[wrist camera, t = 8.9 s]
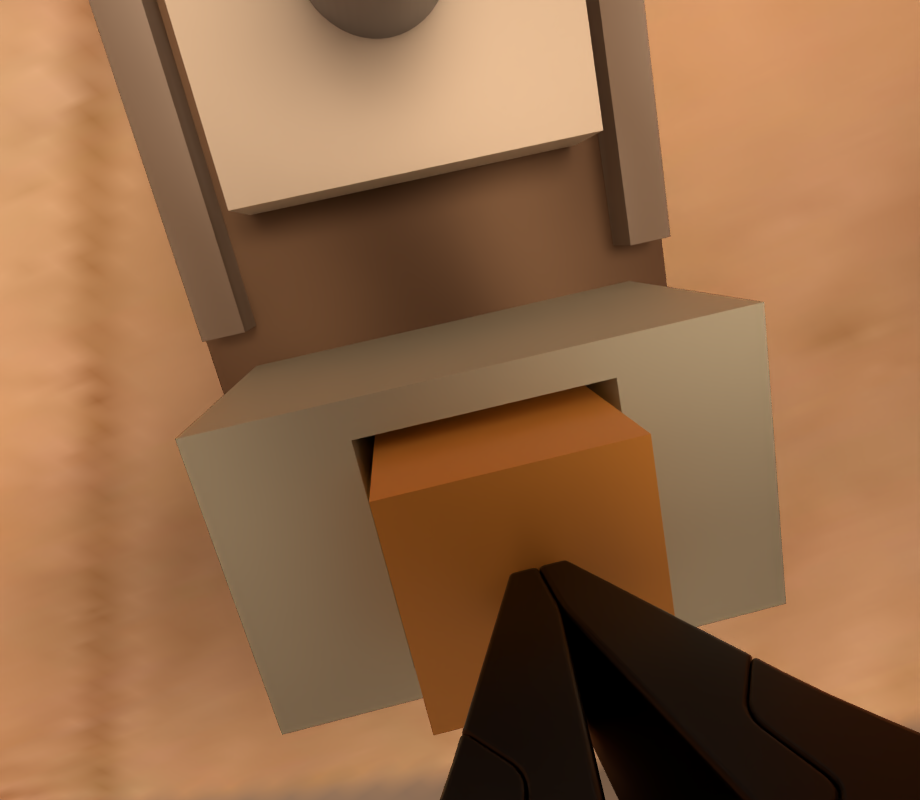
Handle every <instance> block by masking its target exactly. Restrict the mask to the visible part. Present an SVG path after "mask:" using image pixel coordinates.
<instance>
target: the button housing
mask: <svg viewBox="0 0 920 800" xmlns="http://www.w3.org/2000/svg"><path fill="white" fill-rule="evenodd" d="M583 385H585V386H586V387H588V388H589V389H590V390H592V391H593V392H595V393H596V394H597V395H599V396H600V397H601V398H603V399H604V400H605V401H607V402H608V403H610V404H611V405H612V406H614V407H615V408H616V409H618V410H619V411H620V412H622V413H623V414H625V415H626V416H627V417H629V418H630V419H631V420H633V421H634V422H635V423H637V424H638V425H640V426H641V427H642V428H644V429H645V430H646V431H648V432H649V433H650V434H651V438H652V446H653V454H654V461H655V469H656V476H657V484H658V492H659V499H660V507H661V514H662V522H663V529H664V537H665V545H666V552H667V560H668V567H669V575H670V583H671V590H672V598H673V605H674V613H675V617H677V618H679V619H681V620H683V621H685V622H687V623H689V624H691V625H693V626H695V627H698V626H702V625H706V624H710V623H713V622H717V621H721V620H725V619H729V618H733V617H737V616H740V615H744V614H748V613H752V612H756V611H760V610H763V609H767V608H771V607H775V606H779V605H783V604H786V596H785V582H784V568H783V554H782V541H781V527H780V513H779V499H778V485H777V472H776V458H775V444H774V430H773V417H772V403H771V389H770V375H769V361H768V348H767V334H766V320H765V306H764V302H760V301H754V300H748V299H741V298H735V297H728V296H722V295H716V294H709V293H703V292H697V291H690V290H684V289H677V288H671V287H665V286H658V285H652V284H645V283H639V282H633V281H627V282H623V283H618V284H614V285H609V286H605V287H601V288H596V289H592V290H588V291H583V292H579V293H574V294H570V295H566V296H561V297H557V298H552V299H548V300H544V301H539V302H535V303H531V304H526V305H522V306H517V307H513V308H509V309H504V310H500V311H496V312H491V313H487V314H482V315H478V316H474V317H469V318H465V319H460V320H456V321H452V322H447V323H443V324H439V325H434V326H430V327H425V328H421V329H417V330H412V331H408V332H403V333H399V334H395V335H390V336H386V337H382V338H377V339H373V340H368V341H364V342H360V343H355V344H351V345H346V346H342V347H338V348H333V349H329V350H325V351H320V352H316V353H311V354H307V355H303V356H298V357H294V358H289V359H285V360H281V361H276V362H272V363H268V364H263V365H259V366H256V367H255V368H254V369H252V370H251V371H250V372H249V373H248V374H247V375H246V376H245V377H244V378H242V379H241V380H240V381H239V382H238V383H237V384H236V385H235V386H234V387H232V388H231V389H230V390H229V391H228V392H227V393H226V394H225V395H224V396H223V397H221V398H220V399H219V400H218V401H217V402H216V403H215V404H214V405H213V406H211V407H210V408H209V409H208V410H207V411H206V412H205V413H204V414H203V415H201V416H200V417H199V418H198V419H197V420H196V421H195V422H194V423H193V424H191V425H190V426H189V427H188V428H187V429H186V430H185V431H184V432H183V433H181V434H180V435H179V436H178V437H177V438H176V439H175V440H176V443H177V446H178V448H179V451H180V454H181V457H182V459H183V462H184V465H185V468H186V470H187V473H188V476H189V479H190V481H191V484H192V487H193V490H194V493H195V495H196V498H197V501H198V504H199V506H200V509H201V512H202V515H203V517H204V520H205V523H206V526H207V528H208V531H209V534H210V537H211V540H212V542H213V545H214V548H215V551H216V553H217V556H218V559H219V562H220V564H221V567H222V570H223V573H224V575H225V578H226V581H227V584H228V586H229V589H230V592H231V595H232V598H233V600H234V603H235V606H236V609H237V611H238V614H239V617H240V620H241V622H242V625H243V628H244V631H245V633H246V636H247V639H248V642H249V644H250V647H251V650H252V653H253V656H254V658H255V661H256V664H257V667H258V669H259V672H260V675H261V678H262V680H263V683H264V686H265V689H266V691H267V694H268V697H269V700H270V703H271V705H272V708H273V711H274V714H275V716H276V719H277V722H278V725H279V727H280V730H281V733H282V735H283V734H287V733H291V732H295V731H298V730H302V729H306V728H310V727H314V726H318V725H321V724H325V723H329V722H333V721H337V720H341V719H345V718H348V717H352V716H356V715H360V714H364V713H368V712H371V711H375V710H379V709H383V708H387V707H391V706H395V705H398V704H402V703H406V702H410V701H414V700H418V699H421V698H423V695H422V692H421V688H420V685H419V681H418V677H417V674H416V670H415V666H414V663H413V659H412V656H411V652H410V648H409V645H408V641H407V638H406V634H405V630H404V627H403V623H402V619H401V616H400V612H399V609H398V605H397V601H396V598H395V594H394V591H393V587H392V583H391V580H390V576H389V573H388V569H387V565H386V562H385V558H384V554H383V551H382V547H381V544H380V540H379V536H378V533H377V529H376V526H375V522H374V518H373V515H372V511H371V507H370V504H369V497H370V485H371V474H372V463H373V451H374V440H375V435H376V434H380V433H385V432H389V431H393V430H397V429H402V428H406V427H410V426H414V425H418V424H423V423H427V422H431V421H435V420H440V419H444V418H448V417H452V416H457V415H461V414H465V413H469V412H473V411H478V410H482V409H486V408H490V407H495V406H499V405H503V404H507V403H512V402H516V401H520V400H524V399H528V398H533V397H537V396H541V395H545V394H550V393H554V392H558V391H562V390H567V389H571V388H575V387H579V386H583Z"/></svg>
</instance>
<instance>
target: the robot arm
mask: <svg viewBox="0 0 920 800" xmlns="http://www.w3.org/2000/svg"><path fill="white" fill-rule="evenodd" d="M593 747H594V749H595V751H596V753H597V755H598V758H599V760H600V762H601V764H602V766H603V768H604V770H605V772H606V774H607V776H608V778H609V781H610V782H611V784H612V787H613V789H614V791H615V793H616V795H617V797H618V799H619V800H920V733H919V732H916V731H914V730H912V729H909V728H907V727H904V726H902V725H900V724H897V723H895V722H892V721H890V720H888V719H885V718H883V717H880V716H878V715H876V714H874V713H871V712H869V711H867V710H864V709H862V708H860V707H858V706H855V705H853V704H851V703H848V702H846V701H844V700H842V699H839V698H837V697H835V696H832V695H830V694H828V693H826V692H824V691H822V690H820V689H818V688H816V687H814V686H811V685H809V684H807V683H805V682H803V681H801V680H799V679H797V678H795V677H793V676H791V675H789V674H787V673H785V672H783V671H781V670H779V669H777V668H775V667H773V666H771V665H769V664H767V663H765V662H763V661H761V660H759V659H757V658H755V659H752V657H751V655H749V654H747V653H745V652H743V651H741V650H740V649H738V648H736V647H734V646H732V645H730V644H728V643H726V642H724V641H722V640H720V639H718V638H716V637H714V636H712V635H710V634H708V633H707V632H705V631H703V630H701V629H699V628H697V627H695V626H693V625H691V624H689V623H687V622H685V621H683V620H681V619H679V618H677V617H675V616H674V615H672V614H670V613H668V612H666V611H664V610H662V609H660V608H658V607H656V606H654V605H652V604H650V603H648V602H646V601H644V600H643V599H641V598H639V597H637V596H635V595H633V594H631V593H629V592H627V591H625V590H623V589H621V588H619V587H617V586H615V585H613V584H611V583H610V582H608V581H606V580H604V579H602V578H600V577H598V576H596V575H594V574H592V573H590V572H588V571H586V570H584V569H582V568H580V567H578V566H577V565H575V564H573V563H571V562H569V561H566V560H563V561H559V562H555V563H551V564H547V565H543V566H541V567H540V569H539V570H538V569H536V568H531V569H527V570H523V571H519V572H515V573H512V574H511V575H510V577H509V579H508V583H507V586H506V589H505V592H504V596H503V599H502V602H501V606H500V609H499V612H498V616H497V619H496V622H495V625H494V629H493V632H492V635H491V639H490V642H489V645H488V649H487V652H486V655H485V658H484V662H483V665H482V668H481V672H480V675H479V678H478V682H477V685H476V688H475V692H474V695H473V698H472V701H471V705H470V708H469V711H468V715H467V718H466V721H465V725H464V728H463V731H462V736H461V737H460V740H459V743H458V747H457V750H456V753H455V757H454V760H453V763H452V766H451V769H450V772H449V775H448V778H447V780H446V783H445V786H444V789H443V792H442V795H441V798H440V800H605V797H604V792H603V788H602V784H601V780H600V775H599V771H598V766H597V762H596V758H595V753H594V749H593Z"/></svg>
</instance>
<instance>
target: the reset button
mask: <svg viewBox="0 0 920 800" xmlns="http://www.w3.org/2000/svg"><path fill="white" fill-rule="evenodd" d="M369 504H370V507H371V511H372V515H373V518H374V522H375V526H376V529H377V533H378V536H379V540H380V544H381V547H382V551H383V554H384V558H385V562H386V565H387V569H388V573H389V576H390V580H391V583H392V587H393V591H394V594H395V598H396V601H397V605H398V609H399V612H400V616H401V619H402V623H403V627H404V630H405V634H406V638H407V641H408V645H409V648H410V652H411V656H412V659H413V663H414V666H415V670H416V674H417V677H418V681H419V685H420V688H421V692H422V695H423V699H424V703H425V706H426V710H427V713H428V717H429V721H430V724H431V728H432V732H433V735H437V734H441V733H444V732H448V731H452V730H456V729H460V728H463V727H464V725H465V721H466V718H467V715H468V711H469V708H470V705H471V701H472V698H473V695H474V692H475V688H476V685H477V682H478V678H479V675H480V672H481V668H482V665H483V662H484V658H485V655H486V652H487V649H488V645H489V642H490V639H491V635H492V632H493V629H494V625H495V622H496V619H497V616H498V612H499V609H500V606H501V602H502V599H503V596H504V592H505V589H506V586H507V583H508V579H509V577H510V575H511V574H512V573H515V572H519V571H523V570H527V569H531V568H536V569H538V570H539V569H540V567H541V566H543V565H547V564H551V563H555V562H559V561H563V560H566V561H569V562H571V563H573V564H575V565H577V566H578V567H580V568H582V569H584V570H586V571H588V572H590V573H592V574H594V575H596V576H598V577H600V578H602V579H604V580H606V581H608V582H610V583H611V584H613V585H615V586H617V587H619V588H621V589H623V590H625V591H627V592H629V593H631V594H633V595H635V596H637V597H639V598H641V599H643V600H644V601H646V602H648V603H650V604H652V605H654V606H656V607H658V608H660V609H662V610H664V611H666V612H668V613H670V614H672V615H674V616H675V613H674V605H673V598H672V590H671V583H670V575H669V567H668V560H667V552H666V545H665V537H664V529H663V522H662V514H661V507H660V499H659V492H658V484H657V476H656V469H655V461H654V454H653V446H652V438H651V434H650V433H649V432H648V431H646V430H645V429H644V428H642V427H641V426H640V425H638V424H637V423H635V422H634V421H633V420H631V419H630V418H629V417H627V416H626V415H625V414H623V413H622V412H620V411H619V410H618V409H616V408H615V407H614V406H612V405H611V404H610V403H608V402H607V401H605V400H604V399H603V398H601V397H600V396H599V395H597V394H596V393H595V392H593V391H592V390H590V389H589V388H588V387H586V386H585V385H583V386H579V387H575V388H571V389H567V390H562V391H558V392H554V393H550V394H545V395H541V396H537V397H533V398H528V399H524V400H520V401H516V402H512V403H507V404H503V405H499V406H495V407H490V408H486V409H482V410H478V411H473V412H469V413H465V414H461V415H457V416H452V417H448V418H444V419H440V420H435V421H431V422H427V423H423V424H418V425H414V426H410V427H406V428H402V429H397V430H393V431H389V432H385V433H380V434H376V435H375V440H374V451H373V463H372V474H371V485H370V497H369Z"/></svg>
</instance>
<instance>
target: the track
mask: <svg viewBox="0 0 920 800" xmlns="http://www.w3.org/2000/svg"><path fill="white" fill-rule="evenodd" d="M89 3H90V6H91V9H92V12H93V15H94V18H95V21H96V24H97V27H98V30H99V33H100V36H101V39H102V42H103V45H104V48H105V51H106V54H107V57H108V60H109V63H110V66H111V69H112V72H113V75H114V78H115V81H116V84H117V87H118V90H119V93H120V96H121V99H122V102H123V105H124V108H125V111H126V114H127V117H128V120H129V123H130V126H131V129H132V132H133V135H134V138H135V141H136V144H137V147H138V150H139V153H140V156H141V159H142V162H143V165H144V168H145V171H146V174H147V177H148V180H149V183H150V186H151V189H152V192H153V195H154V198H155V201H156V204H157V207H158V210H159V213H160V216H161V219H162V222H163V225H164V228H165V231H166V234H167V237H168V240H169V243H170V246H171V249H172V252H173V255H174V258H175V261H176V264H177V267H178V270H179V273H180V276H181V279H182V282H183V285H184V288H185V291H186V294H187V297H188V300H189V303H190V306H191V309H192V312H193V315H194V318H195V321H196V324H197V327H198V330H199V333H200V336H201V339H202V342H204V341H207V344H208V347H209V351H210V354H211V357H212V360H213V363H214V366H215V369H216V372H217V375H218V378H219V381H220V384H221V387H222V390H223V393H224V395H225V394H226V393H227V392H228V391H229V390H230V389H231V388H232V387H234V386H235V385H236V384H237V383H238V382H239V381H240V380H241V379H242V378H244V377H245V376H246V375H247V374H248V373H249V372H250V371H251V370H252V369H254V368H255V367H256V366H259V365H263V364H268V363H272V362H276V361H281V360H285V359H289V358H294V357H298V356H303V355H307V354H311V353H316V352H320V351H325V350H329V349H333V348H338V347H342V346H346V345H351V344H355V343H360V342H364V341H368V340H373V339H377V338H382V337H386V336H390V335H395V334H399V333H403V332H408V331H412V330H417V329H421V328H425V327H430V326H434V325H439V324H443V323H447V322H452V321H456V320H460V319H465V318H469V317H474V316H478V315H482V314H487V313H491V312H496V311H500V310H504V309H509V308H513V307H517V306H522V305H526V304H531V303H535V302H539V301H544V300H548V299H552V298H557V297H561V296H566V295H570V294H574V293H579V292H583V291H588V290H592V289H596V288H601V287H605V286H609V285H614V284H618V283H623V282H627V281H633V282H639V283H645V284H652V285H658V286H665V287H667V283H666V274H665V266H664V257H663V248H662V240H661V239H662V238H666V237H670V228H669V219H668V210H667V201H666V193H665V184H664V175H663V166H662V157H661V148H660V139H659V130H658V121H657V112H656V103H655V94H654V85H653V76H652V67H651V58H650V49H649V40H648V31H647V23H646V14H645V5H644V0H586V7H587V14H588V21H589V29H590V36H591V44H592V51H593V58H594V66H595V73H596V81H597V88H598V95H599V103H600V110H601V118H602V125H603V131H601V132H599V133H597V134H595V135H594V136H592V137H590V138H588V139H586V140H584V141H582V142H581V143H579V144H577V145H574V146H570V147H565V148H560V149H556V150H551V151H546V152H542V153H537V154H532V155H528V156H523V157H519V158H514V159H509V160H505V161H500V162H495V163H491V164H486V165H481V166H477V167H472V168H467V169H463V170H458V171H453V172H449V173H444V174H439V175H435V176H430V177H426V178H421V179H416V180H412V181H407V182H402V183H398V184H393V185H388V186H384V187H379V188H374V189H370V190H365V191H360V192H356V193H351V194H347V195H342V196H337V197H333V198H328V199H323V200H319V201H314V202H309V203H305V204H300V205H295V206H291V207H286V208H281V209H277V210H272V211H267V212H263V213H258V214H254V215H247V214H242V213H237V212H232V211H228V208H227V205H226V201H225V198H224V195H223V192H222V188H221V185H220V182H219V178H218V175H217V172H216V168H215V165H214V162H213V158H212V155H211V152H210V149H209V145H208V142H207V139H206V135H205V132H204V129H203V125H202V122H201V119H200V116H199V112H198V109H197V106H196V102H195V99H194V96H193V92H192V89H191V86H190V83H189V79H188V76H187V73H186V69H185V66H184V63H183V59H182V56H181V53H180V50H179V46H178V43H177V40H176V36H175V33H174V30H173V26H172V23H171V20H170V17H169V13H168V10H167V7H166V3H165V0H89Z"/></svg>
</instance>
